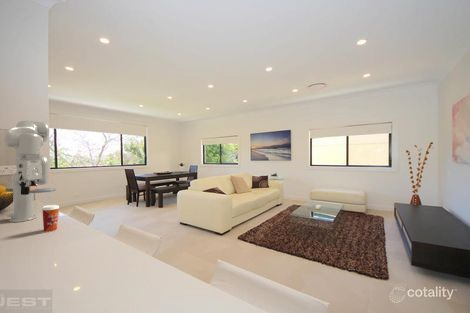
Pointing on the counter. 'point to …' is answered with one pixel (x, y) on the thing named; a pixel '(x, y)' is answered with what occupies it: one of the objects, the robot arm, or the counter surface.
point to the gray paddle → (34, 189)
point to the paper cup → (50, 217)
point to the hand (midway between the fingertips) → (28, 193)
